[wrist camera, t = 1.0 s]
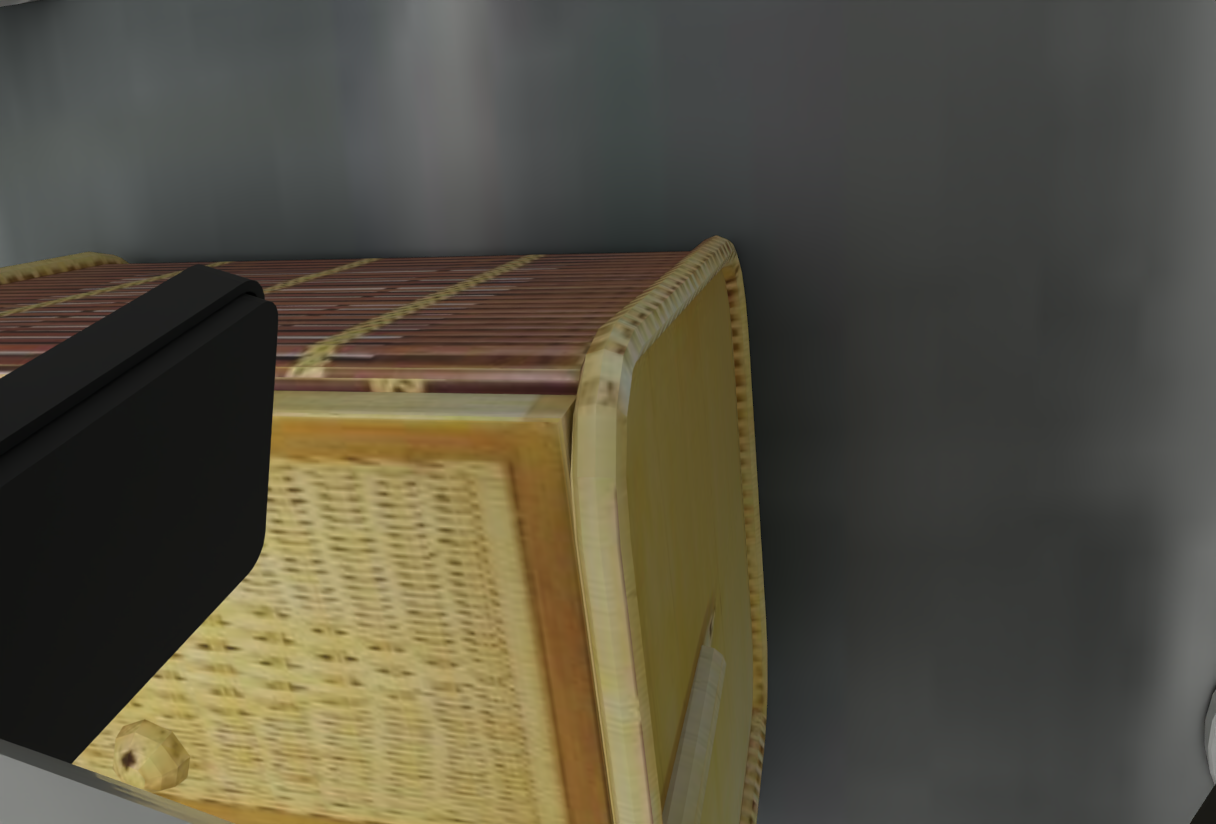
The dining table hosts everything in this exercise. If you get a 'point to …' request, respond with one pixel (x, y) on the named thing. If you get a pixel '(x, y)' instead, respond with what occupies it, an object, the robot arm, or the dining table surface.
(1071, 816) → the dining table surface
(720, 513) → the picnic basket
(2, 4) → the travel mug
